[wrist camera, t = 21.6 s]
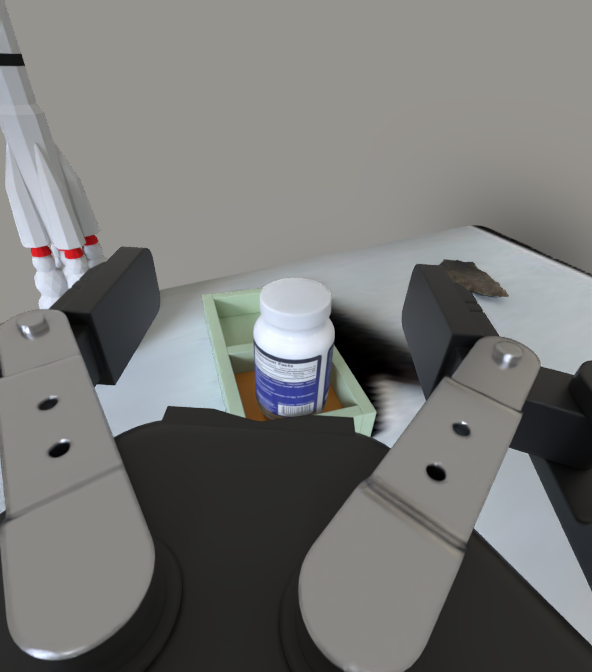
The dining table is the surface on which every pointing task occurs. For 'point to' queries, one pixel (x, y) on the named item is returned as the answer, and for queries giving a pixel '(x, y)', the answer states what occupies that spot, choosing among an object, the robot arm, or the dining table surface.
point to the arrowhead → (473, 278)
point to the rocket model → (42, 182)
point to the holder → (239, 372)
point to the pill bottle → (293, 348)
